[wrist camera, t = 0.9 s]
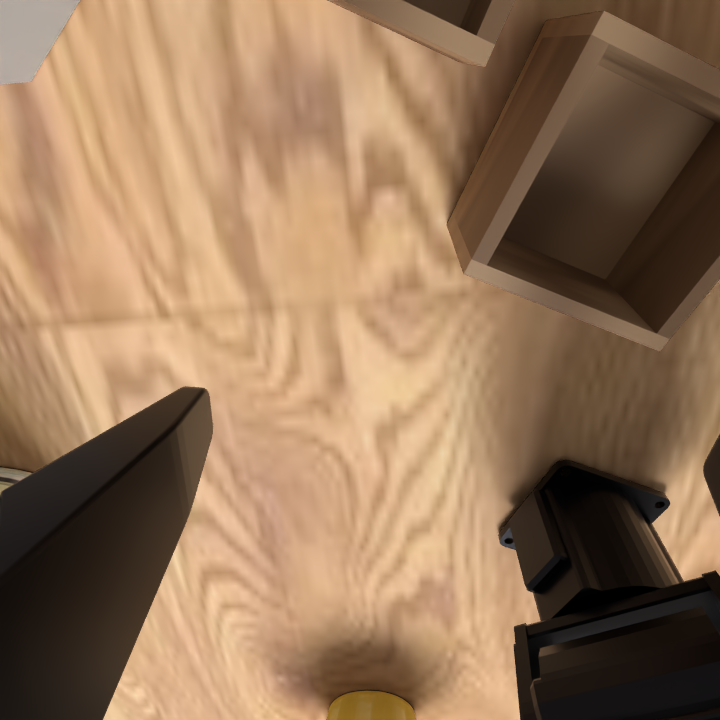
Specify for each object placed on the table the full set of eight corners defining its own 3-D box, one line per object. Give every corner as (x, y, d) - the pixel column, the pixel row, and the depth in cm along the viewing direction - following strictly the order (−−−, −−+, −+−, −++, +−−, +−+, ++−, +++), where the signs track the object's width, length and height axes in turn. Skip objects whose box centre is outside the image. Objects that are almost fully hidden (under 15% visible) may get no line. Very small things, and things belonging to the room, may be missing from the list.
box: (728, 110, 17) (841, 131, 13) (602, 288, 21) (659, 351, 16) (546, 20, 16) (604, 10, 12) (446, 224, 20) (463, 274, 15)
